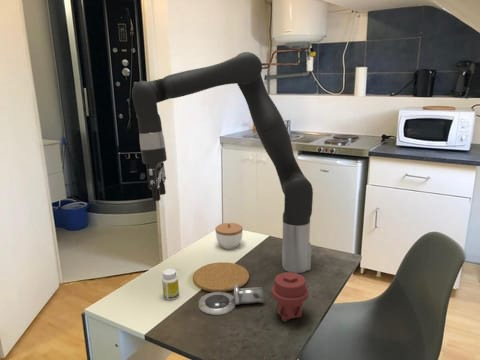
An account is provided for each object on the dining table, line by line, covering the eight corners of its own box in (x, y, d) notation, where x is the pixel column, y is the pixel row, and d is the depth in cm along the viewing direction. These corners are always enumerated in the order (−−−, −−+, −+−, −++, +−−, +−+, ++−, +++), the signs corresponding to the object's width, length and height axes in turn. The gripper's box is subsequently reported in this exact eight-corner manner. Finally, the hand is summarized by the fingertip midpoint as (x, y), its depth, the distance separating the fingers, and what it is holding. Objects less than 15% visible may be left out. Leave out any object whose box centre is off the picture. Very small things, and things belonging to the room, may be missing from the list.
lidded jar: (248, 245, 155) (248, 223, 152) (229, 254, 147) (228, 231, 145) (229, 238, 162) (228, 217, 160) (210, 246, 154) (209, 224, 152)
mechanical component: (271, 304, 114) (306, 306, 113) (271, 325, 104) (308, 327, 103) (272, 266, 111) (307, 267, 110) (271, 284, 101) (310, 286, 100)
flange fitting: (260, 291, 121) (259, 275, 119) (265, 312, 110) (265, 294, 109) (198, 295, 119) (198, 279, 118) (198, 316, 109) (197, 298, 107)
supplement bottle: (181, 293, 121) (180, 269, 119) (174, 301, 116) (172, 276, 114) (168, 291, 122) (166, 267, 120) (160, 299, 118) (158, 274, 116)
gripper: (160, 148, 114) (167, 202, 117) (169, 143, 128) (175, 191, 131) (134, 150, 114) (142, 204, 117) (146, 145, 128) (153, 193, 131)
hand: (159, 197), depth 124 cm, fingers open, 8 cm apart
